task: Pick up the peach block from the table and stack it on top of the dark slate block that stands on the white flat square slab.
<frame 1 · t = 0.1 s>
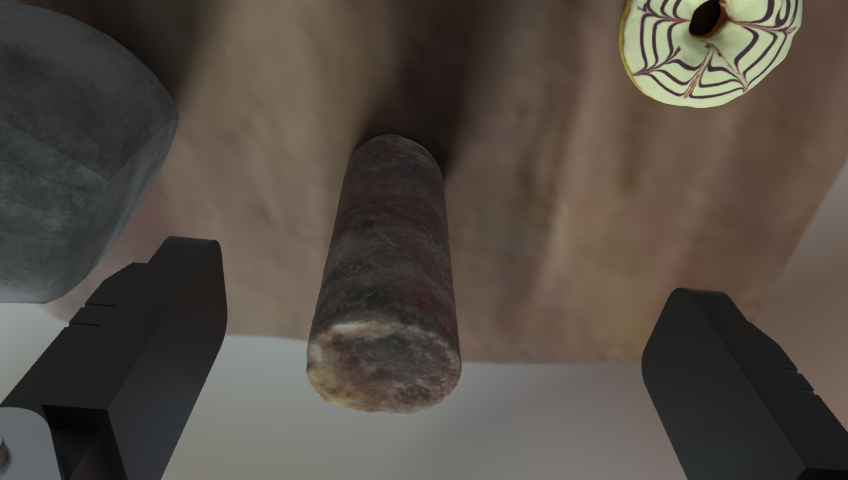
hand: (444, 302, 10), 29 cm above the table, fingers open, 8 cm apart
pitcher: (107, 121, 38), on the table
brown cylinder: (396, 177, 41), on the table
decorated donut: (693, 12, 35), on the table
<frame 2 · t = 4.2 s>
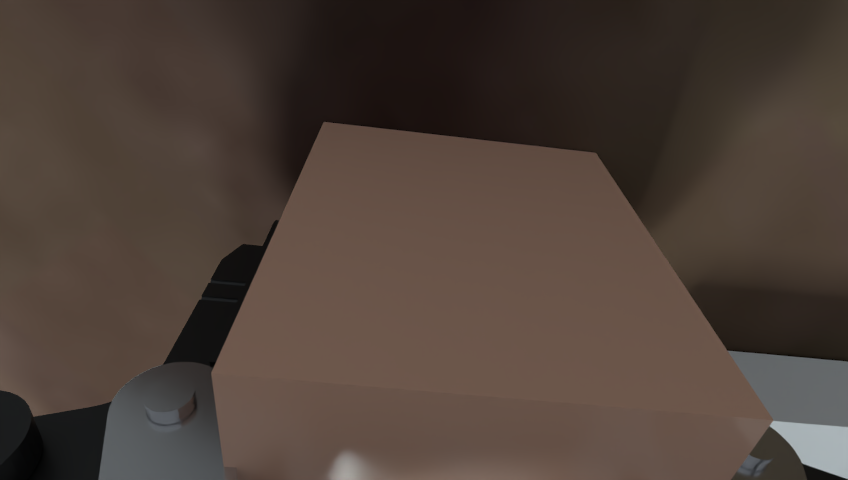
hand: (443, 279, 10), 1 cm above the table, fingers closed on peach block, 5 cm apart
peach block: (443, 250, 11), on the table, touching gripper
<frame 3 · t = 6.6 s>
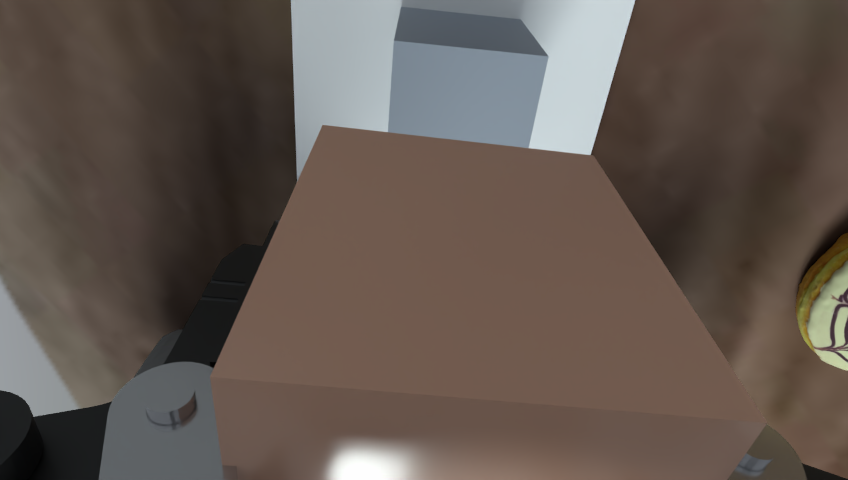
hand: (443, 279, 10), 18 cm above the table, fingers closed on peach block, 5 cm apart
peach block: (441, 253, 11), point 17 cm above the table, touching gripper
pitcher: (237, 369, 37), on the table
white flat square slab: (451, 61, 25), on the table
slate block: (453, 73, 24), point 2 cm above the table, touching white flat square slab
when the fingers open (10 cm above the table, at t = 8.8 s): peach block drops 1 cm, resting on slate block.
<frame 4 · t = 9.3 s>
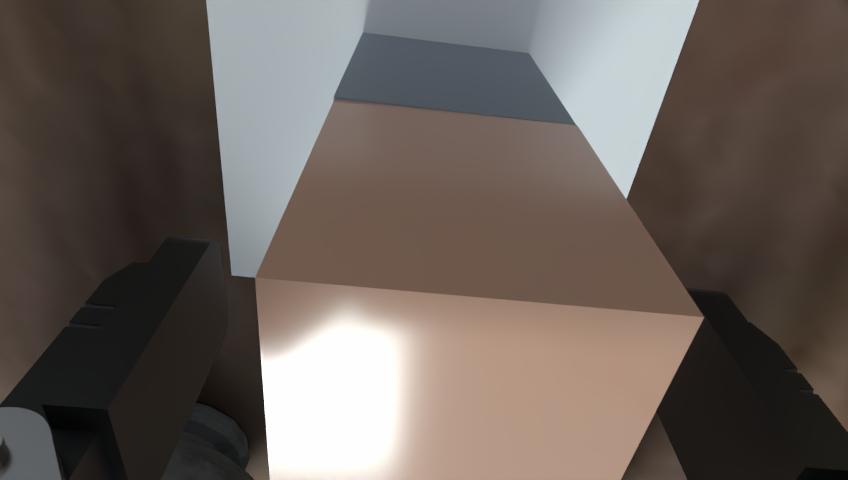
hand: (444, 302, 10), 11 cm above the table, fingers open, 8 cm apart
peach block: (441, 217, 12), point 8 cm above the table, touching slate block
pitcher: (173, 456, 30), on the table
white flat square slab: (434, 102, 19), on the table
slate block: (435, 122, 17), point 2 cm above the table, touching white flat square slab, peach block
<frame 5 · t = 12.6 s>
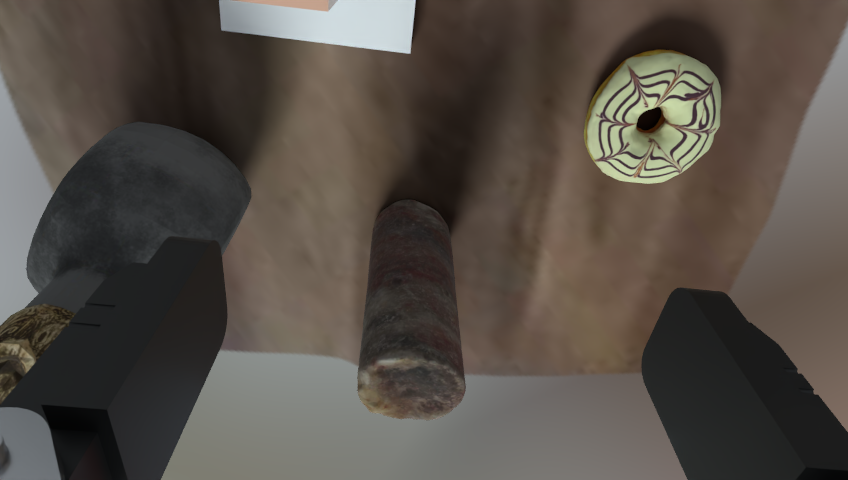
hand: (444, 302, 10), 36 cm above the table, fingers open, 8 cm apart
pitcher: (187, 189, 49), on the table
brown cylinder: (412, 231, 52), on the table
decorated donut: (642, 110, 45), on the table
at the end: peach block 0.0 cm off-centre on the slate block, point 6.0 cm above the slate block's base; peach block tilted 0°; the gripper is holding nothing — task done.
